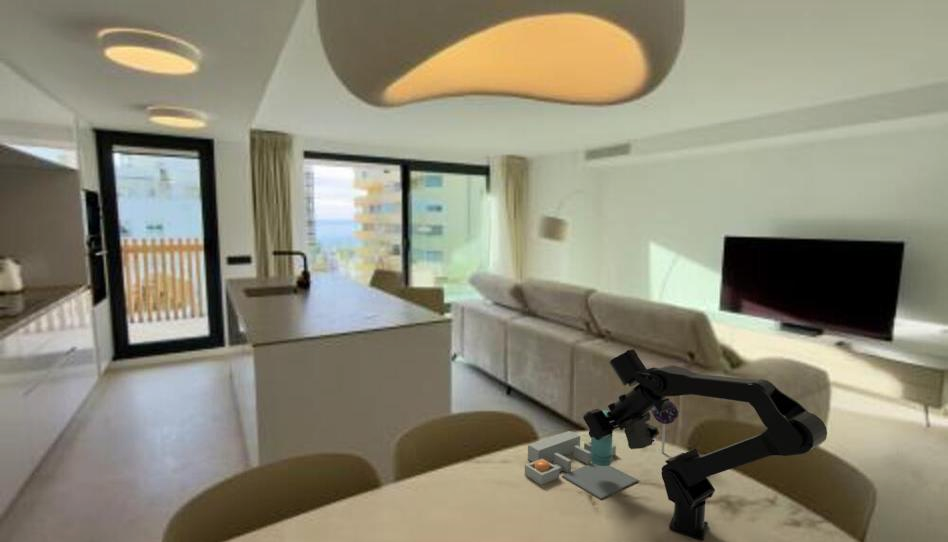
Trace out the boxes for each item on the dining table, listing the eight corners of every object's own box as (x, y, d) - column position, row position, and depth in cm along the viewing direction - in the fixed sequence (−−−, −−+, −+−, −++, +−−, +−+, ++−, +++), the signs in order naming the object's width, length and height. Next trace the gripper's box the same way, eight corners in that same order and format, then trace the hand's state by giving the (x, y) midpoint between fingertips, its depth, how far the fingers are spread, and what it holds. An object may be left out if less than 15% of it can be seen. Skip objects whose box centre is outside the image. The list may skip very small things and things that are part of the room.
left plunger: (545, 480, 113) (545, 468, 113) (531, 475, 115) (532, 463, 115) (551, 473, 116) (551, 462, 116) (538, 469, 118) (538, 458, 118)
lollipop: (645, 452, 130) (647, 399, 129) (656, 445, 134) (659, 394, 133) (669, 461, 125) (672, 406, 124) (680, 453, 129) (683, 400, 128)
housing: (615, 454, 128) (616, 440, 128) (541, 485, 112) (541, 469, 111) (583, 439, 137) (583, 426, 137) (510, 465, 121) (510, 450, 121)
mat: (638, 481, 114) (638, 479, 114) (600, 499, 106) (601, 497, 106) (599, 461, 124) (599, 460, 124) (562, 476, 116) (562, 475, 116)
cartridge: (607, 468, 111) (609, 419, 110) (586, 462, 114) (588, 414, 113) (614, 459, 115) (616, 412, 114) (594, 454, 118) (595, 408, 117)
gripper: (632, 446, 96) (589, 475, 106) (682, 426, 107) (639, 454, 116) (603, 398, 102) (564, 430, 111) (653, 383, 113) (614, 413, 122)
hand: (597, 433), depth 115 cm, fingers closed on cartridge, 5 cm apart
